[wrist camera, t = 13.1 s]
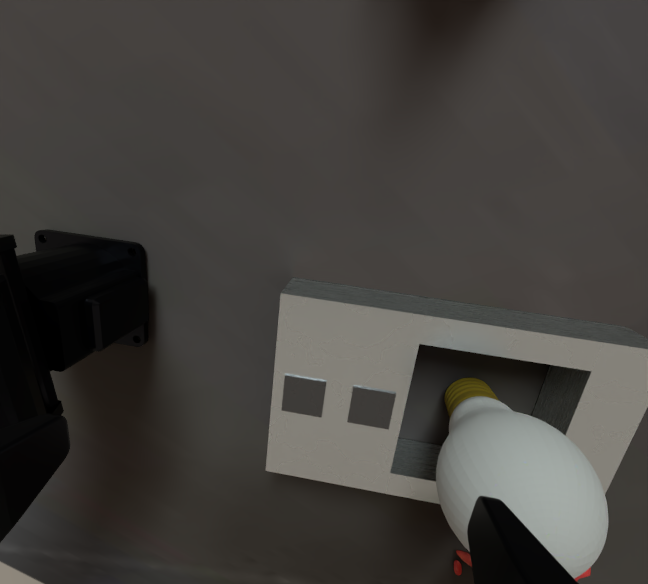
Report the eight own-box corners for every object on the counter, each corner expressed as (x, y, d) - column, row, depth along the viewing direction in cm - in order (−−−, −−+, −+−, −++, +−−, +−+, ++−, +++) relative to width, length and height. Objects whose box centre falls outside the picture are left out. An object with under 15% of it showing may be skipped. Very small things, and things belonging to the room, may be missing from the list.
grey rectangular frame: (278, 435, 23) (265, 472, 20) (293, 277, 20) (280, 294, 17) (557, 486, 22) (587, 534, 19) (626, 326, 18) (675, 354, 15)
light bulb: (407, 351, 20) (448, 500, 11) (515, 338, 19) (663, 488, 10) (418, 435, 22) (462, 628, 12) (518, 426, 21) (648, 629, 11)
